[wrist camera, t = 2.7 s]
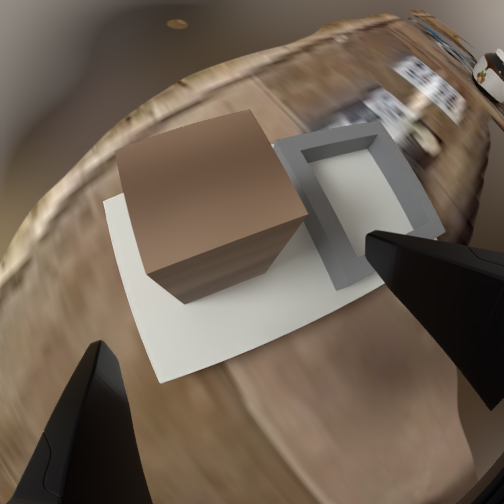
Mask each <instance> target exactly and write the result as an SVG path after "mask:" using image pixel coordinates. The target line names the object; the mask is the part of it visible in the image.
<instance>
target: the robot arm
mask: <svg viewBox="0 0 504 504" xmlns="http://www.w3.org/2000/svg"><path fill="white" fill-rule="evenodd" d="M365 257H366V259H367V261H368V262H369V264H370V265H371V266H372V267H373V269H374V270H375V271H376V272H377V274H378V275H379V276H380V277H381V279H382V280H383V281H384V283H385V284H386V285H387V286H388V288H389V289H390V290H391V291H392V292H393V294H394V295H395V296H396V297H397V298H398V299H399V300H400V301H401V302H402V303H403V304H404V306H405V307H406V308H407V309H408V310H409V311H410V312H411V313H412V314H413V315H414V317H415V318H416V319H417V320H418V321H419V322H420V323H421V324H422V326H423V327H424V328H425V329H426V330H427V331H428V333H429V334H430V335H431V336H432V337H433V338H434V339H435V341H436V342H437V343H438V344H439V345H440V347H441V348H442V349H443V350H444V351H445V353H446V354H447V355H448V356H449V357H450V359H451V360H452V361H453V362H454V364H455V365H456V366H457V367H458V369H459V370H460V371H461V373H462V374H463V375H464V376H465V378H466V379H467V380H468V381H469V383H470V384H471V386H472V387H473V388H474V390H475V391H476V392H477V394H478V395H479V396H480V398H481V399H482V400H483V402H484V403H485V405H486V406H487V407H488V409H489V410H490V411H492V410H493V408H495V406H496V405H497V404H498V403H499V402H500V401H501V400H502V399H503V398H504V253H502V252H496V251H490V250H484V249H479V248H474V247H469V246H468V247H467V246H464V245H459V244H454V243H449V242H443V241H438V240H433V239H427V238H422V237H416V236H410V235H405V234H399V233H393V232H387V231H380V230H374V231H372V232H369V233H367V234H366V236H365ZM6 504H153V503H152V499H151V496H150V493H149V490H148V486H147V483H146V479H145V476H144V472H143V468H142V464H141V460H140V456H139V452H138V448H137V443H136V438H135V434H134V429H133V423H132V418H131V412H130V407H129V402H128V398H127V395H126V391H125V387H124V383H123V379H122V375H121V370H120V366H119V362H118V359H117V358H116V356H115V355H114V353H113V352H112V351H111V350H110V348H109V347H108V346H107V345H106V343H105V342H104V341H102V340H99V341H96V342H93V343H91V344H90V345H89V347H88V348H87V350H86V352H85V353H84V355H83V357H82V359H81V360H80V362H79V364H78V366H77V367H76V369H75V371H74V373H73V374H72V376H71V378H70V380H69V382H68V384H67V385H66V387H65V389H64V391H63V393H62V395H61V397H60V399H59V401H58V403H57V405H56V407H55V408H54V410H53V413H52V415H51V417H50V419H49V421H48V423H47V425H46V427H45V429H44V432H43V433H42V436H41V438H40V440H39V442H38V444H37V446H36V449H35V451H34V453H33V455H32V457H31V459H30V461H29V463H28V465H27V467H26V469H25V471H24V473H23V475H22V477H21V479H20V481H19V483H18V485H17V488H16V490H15V492H14V494H13V496H12V497H11V499H10V500H9V501H8V502H7V503H6ZM457 504H504V452H503V454H502V455H501V456H500V457H499V459H498V460H497V461H496V462H495V463H494V465H493V466H492V467H491V468H490V469H489V471H488V472H487V473H486V474H485V475H484V476H483V477H482V478H481V480H480V481H479V482H478V483H477V484H476V485H475V486H474V487H473V488H472V489H471V490H470V491H469V492H468V493H467V494H466V495H465V496H464V497H463V498H462V499H461V500H460V501H459V502H458V503H457Z"/></svg>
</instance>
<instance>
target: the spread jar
mask: <svg viewBox="0 0 504 504" xmlns="http://www.w3.org/2000/svg"><path fill="white" fill-rule="evenodd" d="M472 78H473V82H474V83H475V85H476V86H477V88H478V89H479V90H480V91H481V92H482V93H483V94H484V95H485V96H486V97H487V98H488V99H489V100H490V101H492V102H495V103H503V102H504V52H503V51H502V50H500V49H499V48H498V49H497V50H496V51H495V53H486V54H485V55H484V56H483V57H482V58H481V59H480V60H479V61H478V63H477V64H476V65H475V67H474V69H473V72H472Z"/></svg>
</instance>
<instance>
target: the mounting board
mask: <svg viewBox="0 0 504 504" xmlns="http://www.w3.org/2000/svg"><path fill="white" fill-rule="evenodd" d="M271 146H272V147H273V149H274V151H275V153H276V154H277V156H278V158H279V160H280V162H281V163H282V165H283V167H284V169H285V171H286V172H287V174H288V176H289V178H290V180H291V182H292V184H293V185H294V187H295V189H296V191H297V193H298V195H299V197H300V199H301V201H302V203H303V205H304V206H305V208H306V210H307V212H308V215H307V217H306V218H305V220H304V221H303V222H302V224H301V225H300V226H299V228H298V229H297V231H296V232H295V233H294V235H293V236H292V237H291V239H290V240H289V241H288V243H287V244H286V246H285V247H284V248H283V250H282V251H281V252H280V254H279V255H278V256H277V258H276V259H275V260H274V262H273V263H272V264H271V266H270V267H269V268H268V270H267V271H266V272H265V273H264V274H261V275H259V276H256V277H254V278H251V279H249V280H246V281H244V282H241V283H239V284H236V285H234V286H231V287H228V288H226V289H223V290H221V291H218V292H216V293H213V294H211V295H208V296H205V297H203V298H200V299H198V300H195V301H192V302H190V303H187V304H185V305H184V304H183V303H182V302H180V301H179V300H178V299H176V298H175V297H174V296H173V295H171V294H170V293H169V292H167V291H166V290H165V289H164V288H162V287H161V286H160V285H158V284H157V283H156V282H155V281H153V280H152V279H151V278H150V277H148V276H147V275H146V273H145V270H144V267H143V263H142V260H141V257H140V254H139V250H138V247H137V243H136V240H135V236H134V232H133V229H132V225H131V221H130V217H129V213H128V209H127V205H126V201H125V197H124V193H122V194H120V195H117V196H115V197H112V198H110V199H108V200H105V201H103V203H104V208H105V213H106V218H107V223H108V227H109V232H110V236H111V240H112V244H113V248H114V252H115V256H116V260H117V264H118V267H119V271H120V274H121V278H122V281H123V285H124V288H125V291H126V295H127V298H128V301H129V304H130V307H131V310H132V313H133V316H134V319H135V322H136V325H137V327H138V330H139V333H140V336H141V338H142V341H143V344H144V346H145V349H146V351H147V354H148V356H149V359H150V361H151V364H152V366H153V368H154V371H155V373H156V376H157V378H158V380H159V382H160V383H163V382H166V381H169V380H172V379H175V378H178V377H181V376H184V375H187V374H190V373H192V372H195V371H198V370H201V369H203V368H206V367H209V366H211V365H214V364H217V363H219V362H222V361H224V360H227V359H229V358H232V357H234V356H237V355H239V354H242V353H244V352H247V351H249V350H251V349H254V348H256V347H258V346H261V345H263V344H265V343H268V342H270V341H272V340H274V339H277V338H279V337H281V336H283V335H285V334H288V333H290V332H292V331H294V330H296V329H298V328H300V327H303V326H305V325H307V324H309V323H311V322H313V321H315V320H317V319H319V318H321V317H323V316H325V315H327V314H329V313H331V312H333V311H335V310H337V309H339V308H341V307H343V306H345V305H346V304H348V303H350V302H352V301H354V300H356V299H358V298H360V297H361V296H363V295H365V294H367V293H369V292H370V291H372V290H374V289H376V288H378V287H379V286H381V285H383V284H385V283H384V281H383V280H382V279H381V277H380V276H379V275H378V274H377V272H376V271H375V270H374V269H373V267H372V266H371V265H370V264H369V262H368V261H367V259H366V257H365V236H366V234H367V233H369V232H372V231H374V230H380V231H387V232H393V233H399V234H405V235H410V236H416V237H422V238H427V239H433V240H437V238H436V237H438V236H440V235H441V234H443V233H444V232H446V231H445V229H444V227H443V225H442V223H441V221H440V219H439V217H438V215H437V213H436V211H435V209H434V207H433V205H432V203H431V201H430V199H429V198H428V196H427V194H426V192H425V190H424V188H423V187H422V185H421V183H420V181H419V180H418V178H417V176H416V175H415V173H414V171H413V170H412V168H411V166H410V165H409V163H408V162H407V160H406V158H405V157H404V155H403V154H402V152H401V151H400V149H399V148H398V146H397V145H396V143H395V142H394V140H393V139H392V137H391V136H390V135H389V133H388V132H387V130H386V129H385V128H384V126H383V125H382V124H381V122H380V121H377V122H369V123H362V124H356V125H349V126H343V127H338V128H332V129H326V130H321V131H316V132H311V133H306V134H301V135H297V136H292V137H288V138H283V139H279V140H275V143H274V144H272V145H271Z"/></svg>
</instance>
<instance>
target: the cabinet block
mask: <svg viewBox="0 0 504 504" xmlns="http://www.w3.org/2000/svg"><path fill="white" fill-rule="evenodd" d="M115 154H116V159H117V164H118V169H119V174H120V179H121V184H122V188H123V193H124V197H125V201H126V205H127V209H128V213H129V217H130V221H131V225H132V229H133V232H134V236H135V240H136V243H137V247H138V250H139V254H140V257H141V260H142V263H143V267H144V270H145V273H146V275H147V276H148V277H150V278H151V279H152V280H153V281H155V282H156V283H157V284H158V285H160V286H161V287H162V288H164V289H165V290H166V291H167V292H169V293H170V294H171V295H173V296H174V297H175V298H176V299H178V300H179V301H180V302H182V303H183V304H184V305H185V304H187V303H190V302H192V301H195V300H198V299H200V298H203V297H205V296H208V295H211V294H213V293H216V292H218V291H221V290H223V289H226V288H228V287H231V286H234V285H236V284H239V283H241V282H244V281H246V280H249V279H251V278H254V277H256V276H259V275H261V274H264V273H265V272H266V271H267V270H268V268H269V267H270V266H271V264H272V263H273V262H274V260H275V259H276V258H277V256H278V255H279V254H280V252H281V251H282V250H283V248H284V247H285V246H286V244H287V243H288V241H289V240H290V239H291V237H292V236H293V235H294V233H295V232H296V231H297V229H298V228H299V226H300V225H301V224H302V222H303V221H304V220H305V218H306V217H307V215H308V212H307V210H306V208H305V206H304V205H303V203H302V201H301V199H300V197H299V195H298V193H297V191H296V189H295V187H294V185H293V184H292V182H291V180H290V178H289V176H288V174H287V172H286V171H285V169H284V167H283V165H282V163H281V162H280V160H279V158H278V156H277V154H276V153H275V151H274V149H273V147H272V146H271V144H270V142H269V140H268V139H267V137H266V135H265V133H264V132H263V130H262V128H261V127H260V125H259V123H258V122H257V120H256V118H255V117H254V115H253V113H252V112H251V110H245V111H241V112H236V113H232V114H228V115H224V116H220V117H216V118H212V119H208V120H205V121H201V122H197V123H194V124H191V125H187V126H184V127H181V128H177V129H174V130H171V131H168V132H165V133H162V134H159V135H156V136H153V137H150V138H148V139H145V140H142V141H139V142H137V143H134V144H131V145H129V146H126V147H124V148H121V149H119V150H116V151H115Z"/></svg>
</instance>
